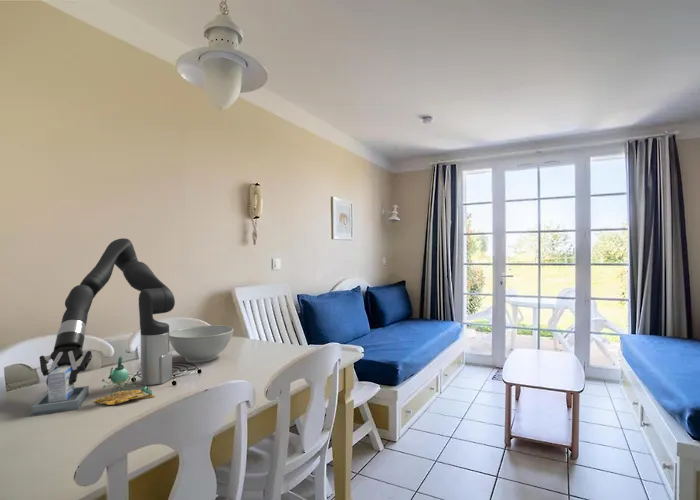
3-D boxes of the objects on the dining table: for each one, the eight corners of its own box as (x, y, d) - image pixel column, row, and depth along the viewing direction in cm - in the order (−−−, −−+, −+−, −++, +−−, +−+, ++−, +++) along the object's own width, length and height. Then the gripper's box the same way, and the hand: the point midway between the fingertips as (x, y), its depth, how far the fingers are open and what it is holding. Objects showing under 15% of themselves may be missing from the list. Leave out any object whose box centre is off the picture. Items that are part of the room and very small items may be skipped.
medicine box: (66, 401, 113) (65, 371, 113) (47, 403, 111) (47, 374, 111) (74, 392, 120) (73, 364, 120) (57, 394, 118) (56, 366, 118)
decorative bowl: (246, 355, 170) (246, 328, 170) (193, 371, 148) (193, 340, 148) (208, 348, 185) (208, 323, 185) (154, 361, 162) (154, 333, 162)
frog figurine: (144, 406, 114) (137, 357, 114) (84, 414, 114) (77, 365, 114) (159, 394, 123) (154, 349, 123) (104, 401, 123) (98, 356, 123)
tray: (88, 393, 125) (88, 385, 125) (78, 408, 112) (78, 400, 112) (47, 399, 120) (47, 391, 120) (31, 415, 108) (31, 406, 108)
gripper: (98, 341, 131) (90, 387, 120) (46, 345, 125) (34, 394, 114) (94, 328, 126) (86, 375, 115) (41, 332, 121) (27, 382, 109)
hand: (60, 384), depth 115 cm, fingers closed on medicine box, 4 cm apart
